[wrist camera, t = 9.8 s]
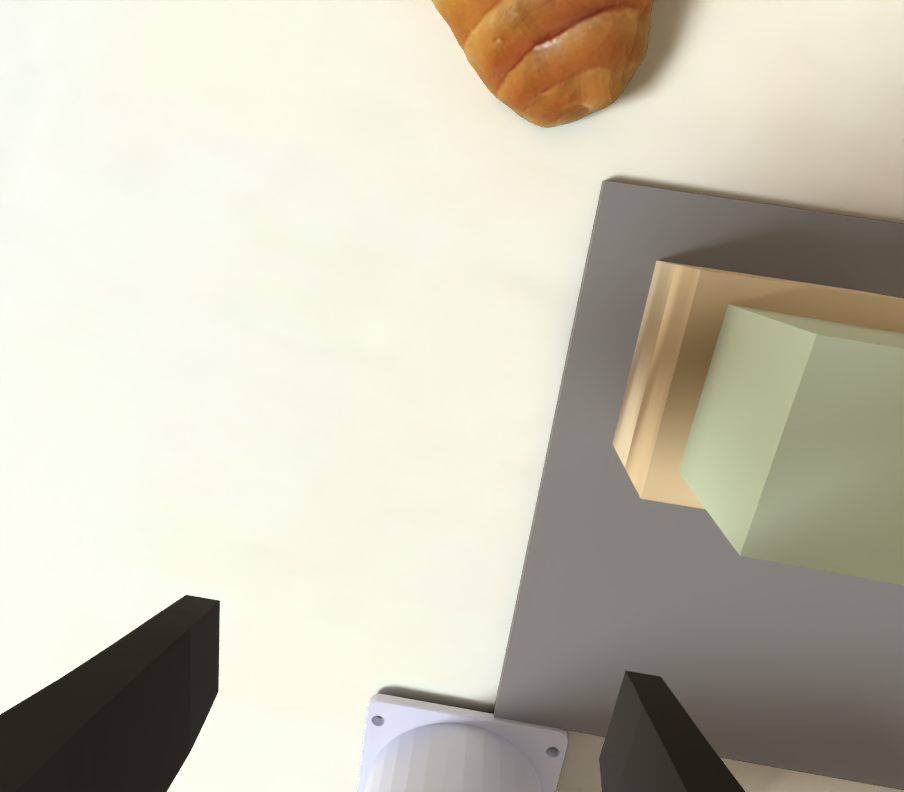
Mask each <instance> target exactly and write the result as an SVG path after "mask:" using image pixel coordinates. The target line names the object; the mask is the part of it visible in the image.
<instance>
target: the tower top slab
mask: <svg viewBox="0 0 904 792" xmlns="http://www.w3.org/2000/svg"><path fill="white" fill-rule="evenodd" d="M728 304H731V305H737V306H743V307H749V308H755V309H761V310H767V311H773V312H779V313H785V314H791V315H797V316H803V317H809V318H815V319H821V320H827V321H833V322H839V323H845V324H851V325H857V326H864V327H870V328H876V329H882V330H888V331H894V332H900V333H904V299H903V298H896V297H889V296H883V295H876V294H869V293H863V292H856V291H849V290H842V289H836V288H829V287H822V286H816V285H809V284H802V283H796V282H789V281H782V280H776V279H769V278H762V277H755V276H749V275H742V274H735V273H729V272H722V271H715V270H709V269H702V268H695V267H688V266H682V265H676V266H675V270H674V274H673V278H672V282H671V286H670V290H669V294H668V298H667V302H666V306H665V310H664V314H663V318H662V322H661V326H660V330H659V334H658V338H657V342H656V346H655V350H654V354H653V358H652V362H651V366H650V370H649V374H648V378H647V382H646V386H645V390H644V394H643V398H642V402H641V406H640V410H639V414H638V418H637V422H636V426H635V430H634V434H633V438H632V442H631V446H630V450H629V454H628V458H627V462H626V466H625V469H626V471H627V473H628V475H629V477H630V479H631V481H632V483H633V485H634V487H635V489H636V491H637V492H638V494H639V496H640V498H641V499H646V500H652V501H658V502H664V503H670V504H677V505H683V506H689V507H695V508H701V509H705V508H704V506H703V505H702V503H701V502H700V501H699V499H698V498H697V497H696V495H695V494H694V492H693V491H692V490H691V488H690V487H689V486H688V484H687V483H686V482H685V480H684V479H683V477H682V476H681V475H680V473H679V472H678V471H679V468H680V464H681V461H682V458H683V454H684V451H685V448H686V444H687V441H688V437H689V434H690V431H691V427H692V424H693V421H694V417H695V414H696V410H697V407H698V404H699V400H700V397H701V394H702V390H703V387H704V384H705V380H706V377H707V373H708V370H709V367H710V363H711V360H712V357H713V353H714V350H715V346H716V343H717V340H718V336H719V333H720V330H721V326H722V323H723V319H724V316H725V313H726V309H727V306H728Z"/></svg>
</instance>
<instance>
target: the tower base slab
mask: <svg viewBox="0 0 904 792" xmlns="http://www.w3.org/2000/svg"><path fill="white" fill-rule="evenodd" d="M676 265H682V266H688V267H695V268H702V269H709V270H715V271H722V272H729V273H735V274H742V275H749V276H755V277H762V278H769V279H776V280H782V281H789V282H796V283H802V284H809V285H816V286H822V287H829V288H836V289H842V290H849V291H856V292H863V293H869V292H864V291H858V290H852V289H845V288H838V287H831V286H825V285H818V284H811V283H805V282H798V281H791V280H785V279H778V278H771V277H764V276H758V275H751V274H744V273H738V272H731V271H724V270H718V269H711V268H704V267H697V266H691V265H684V264H677V263H671V262H664V261H657V260H656V264H655V269H654V273H653V277H652V281H651V285H650V289H649V294H648V298H647V302H646V306H645V310H644V314H643V319H642V323H641V327H640V331H639V335H638V339H637V343H636V348H635V352H634V356H633V360H632V364H631V368H630V373H629V377H628V381H627V385H626V389H625V393H624V398H623V402H622V406H621V410H620V414H619V418H618V423H617V427H616V431H615V435H614V439H613V443H612V444H613V446H614V448H615V450H616V452H617V454H618V456H619V458H620V460H621V462H622V464H623V466H624V467H625V466H626V462H627V458H628V454H629V450H630V446H631V442H632V438H633V434H634V430H635V426H636V422H637V418H638V414H639V410H640V406H641V402H642V398H643V394H644V390H645V386H646V382H647V378H648V374H649V370H650V366H651V362H652V358H653V354H654V350H655V346H656V342H657V338H658V334H659V330H660V326H661V322H662V318H663V314H664V310H665V306H666V302H667V298H668V294H669V290H670V286H671V282H672V278H673V274H674V270H675V266H676ZM869 294H875V293H869ZM876 295H880V294H876ZM883 296H886V295H883ZM889 297H892V296H889ZM896 298H897V297H896Z"/></svg>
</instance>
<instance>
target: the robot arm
mask: <svg viewBox="0 0 904 792" xmlns="http://www.w3.org/2000/svg"><path fill="white" fill-rule="evenodd" d="M219 612H220V601H218V600H212V599H206V598H201V597H195V596H189V595H186V596H184V597H183V598H181V599H180V600H178V601H176V602H175V603H173V604H172V605H170V606H169V607H167V608H166V609H164V610H163V611H161V612H160V613H158V614H157V615H155V616H154V617H152V618H151V619H150V620H148V621H147V622H145V623H144V624H142V625H141V626H139V627H138V628H136V629H135V630H133V631H132V632H130V633H129V634H127V635H126V636H124V637H123V638H121V639H120V640H118V641H117V642H115V643H114V644H112V645H111V646H109V647H108V648H106V649H105V650H103V651H102V652H100V653H99V654H97V655H96V656H94V657H93V658H91V659H90V660H88V661H87V662H85V663H83V664H82V665H80V666H79V667H77V668H76V669H74V670H73V671H71V672H70V673H68V674H67V675H65V676H63V677H62V678H60V679H59V680H57V681H55V682H54V683H52V684H50V685H49V686H47V687H45V688H44V689H42V690H40V691H39V692H37V693H35V694H34V695H32V696H30V697H29V698H27V699H26V700H24V701H22V702H21V703H19V704H17V705H16V706H14V707H12V708H11V709H9V710H7V711H6V712H4V713H2V714H1V715H0V792H167V790H168V788H169V787H170V785H171V783H172V782H173V780H174V778H175V777H176V775H177V773H178V772H179V770H180V768H181V767H182V765H183V763H184V761H185V760H186V758H187V756H188V755H189V753H190V751H191V749H192V747H193V745H194V743H195V741H196V739H197V737H198V734H199V732H200V730H201V728H202V726H203V724H204V722H205V720H206V717H207V715H208V713H209V711H210V709H211V706H212V704H213V702H214V700H215V698H216V695H217V693H218V677H219ZM376 716H381V717H383V718H378V717H376ZM567 745H568V737H567V732H566V731H565V730H564V729H558V728H553V727H547V726H542V725H536V724H530V723H525V722H519V721H513V720H508V719H502V718H497V717H494V714H492V713H486V712H480V711H475V710H469V709H463V708H458V707H452V706H447V705H441V704H435V703H430V702H424V701H419V700H413V699H407V698H402V697H396V696H390V695H385V694H376V695H373V696H372V697H371V698H370V700H369V703H368V707H367V713H366V721H365V729H364V738H363V746H362V754H361V762H360V770H359V778H358V786H357V792H555V791H556V787H557V784H558V780H559V776H560V772H561V768H562V764H563V760H564V756H565V753H566V749H567ZM550 747H555V748H554V749H550ZM599 760H600V771H601V783H602V792H745V791H744V789H743V788H742V787H741V785H740V784H739V783H738V781H737V780H736V779H735V777H734V776H733V775H732V774H731V772H730V771H729V770H728V768H727V767H726V766H725V764H724V763H723V762H722V760H721V759H720V758H719V756H718V755H717V753H716V752H715V751H714V749H713V748H712V747H711V745H710V744H709V743H708V741H707V740H706V738H705V737H704V736H703V734H702V733H701V732H700V730H699V729H698V727H697V726H696V725H695V723H694V722H693V720H692V719H691V718H690V716H689V715H688V713H687V712H686V711H685V709H684V708H683V706H682V705H681V704H680V702H679V701H678V700H677V698H676V697H675V695H674V694H673V693H672V691H671V690H670V688H669V687H668V686H667V684H666V683H665V682H664V680H663V679H662V677H661V676H655V675H649V674H643V673H637V672H632V671H626V670H625V674H624V677H623V681H622V684H621V687H620V691H619V694H618V698H617V701H616V704H615V708H614V711H613V714H612V718H611V721H610V725H609V728H608V731H607V735H606V738H605V742H604V745H603V748H602V752H601V755H600V759H599Z"/></svg>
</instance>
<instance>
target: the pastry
mask: <svg viewBox="0 0 904 792" xmlns="http://www.w3.org/2000/svg"><path fill="white" fill-rule="evenodd" d="M432 1H433V3H434V5H435V7H436V9H437V10H438V11H439V13H440V14H441V15H442V17H443V18H444V19H445V21H446V22H447V23H448V25H449V26H450V28H451V30H452V32H453V33H454V35H455V37H456V39H457V41H458V43H459V45H460V46H461V47H462V49H463V50H464V52H465V55H466V57H467V59H468V61H469V63H470V64H471V65H472V67H473V68H474V69H475V71H476V72H477V74H478V75H479V77H480V78H481V80H482V81H483V83H484V84H485V85H486V87H487V88H488V89H489V90H490V91H491V92H492V93H493V94H494V95H495V96H496V98H498V99H499V100H501V101H502V102H503V103H504V104H506V105H507V106H509V107H510V108H511V109H512V110H514V111H515V112H516V113H517V114H518V115H519V116H521V117H523V118H524V119H526V120H528V121H529V122H531V123H533V124H535V125H538V126H541V127H548V128H549V127H555V126H558V125H563V124H567V123H571V122H573V121H576V120H578V119H580V118H582V117H584V116H586V115H588V114H590V113H592V112H594V111H597V110H600V109H603V108H605V107H607V106H609V105H610V104H612V103H614V102H615V101H616V99H617V98H618V97H619V96H620V95H621V94H622V92H623V90H624V89H625V87H626V85H627V84H628V82H629V81H630V79H631V78H632V76H633V74H634V72H635V70H636V69H637V68H638V67H639V65H640V64H641V62H642V61H643V59H644V57H645V55H646V52H647V46H648V34H649V28H650V14H651V9H652V3H653V1H654V0H432Z"/></svg>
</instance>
